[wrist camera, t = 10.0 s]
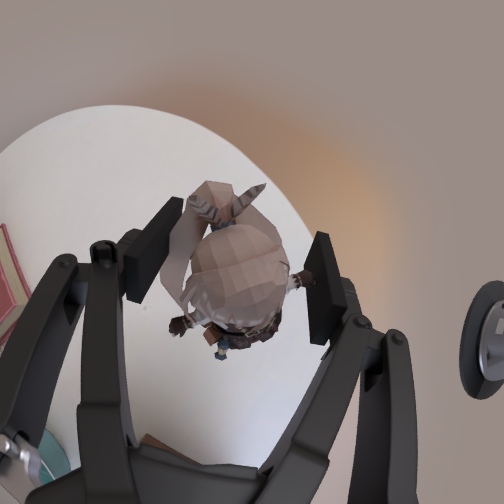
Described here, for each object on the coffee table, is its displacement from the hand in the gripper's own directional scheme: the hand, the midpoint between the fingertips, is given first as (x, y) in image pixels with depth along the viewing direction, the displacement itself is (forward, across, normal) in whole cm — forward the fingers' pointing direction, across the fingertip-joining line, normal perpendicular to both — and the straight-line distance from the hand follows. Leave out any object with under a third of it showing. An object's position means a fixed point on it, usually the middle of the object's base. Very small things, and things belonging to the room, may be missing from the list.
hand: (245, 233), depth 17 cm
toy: (+1, 0, -6) cm, 6 cm away
